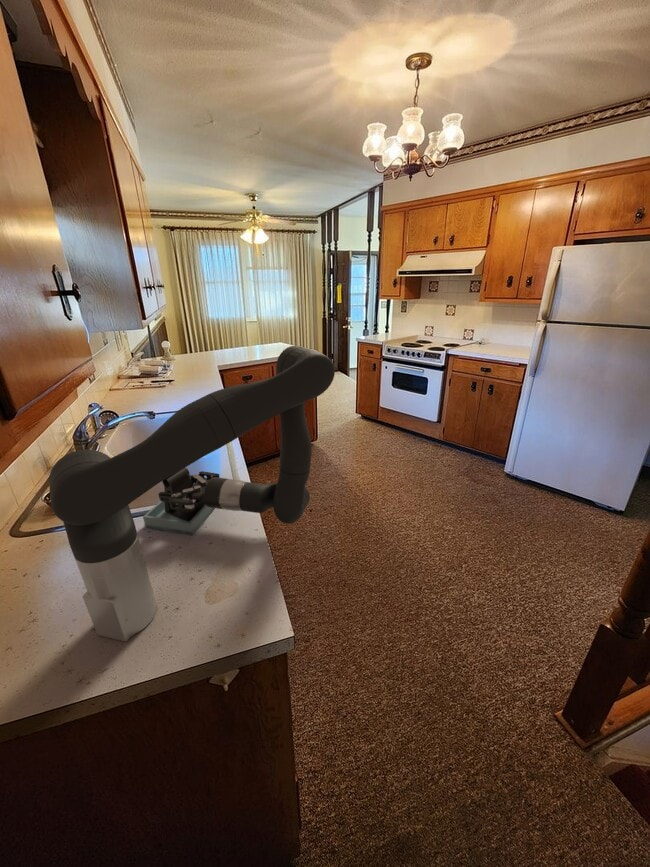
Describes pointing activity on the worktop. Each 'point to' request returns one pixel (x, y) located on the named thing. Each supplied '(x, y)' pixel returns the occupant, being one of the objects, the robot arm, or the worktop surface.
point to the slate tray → (174, 520)
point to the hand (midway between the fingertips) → (170, 486)
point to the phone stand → (176, 485)
